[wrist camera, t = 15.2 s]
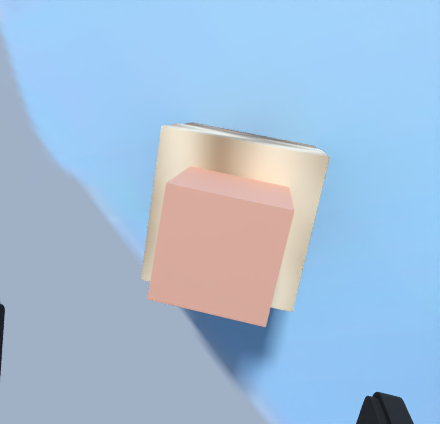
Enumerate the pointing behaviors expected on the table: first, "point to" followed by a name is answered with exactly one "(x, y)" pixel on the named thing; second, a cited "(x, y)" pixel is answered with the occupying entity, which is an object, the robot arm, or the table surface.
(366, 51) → the table surface
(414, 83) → the table surface
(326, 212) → the table surface
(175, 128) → the maple top block
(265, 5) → the table surface
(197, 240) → the terracotta cube
